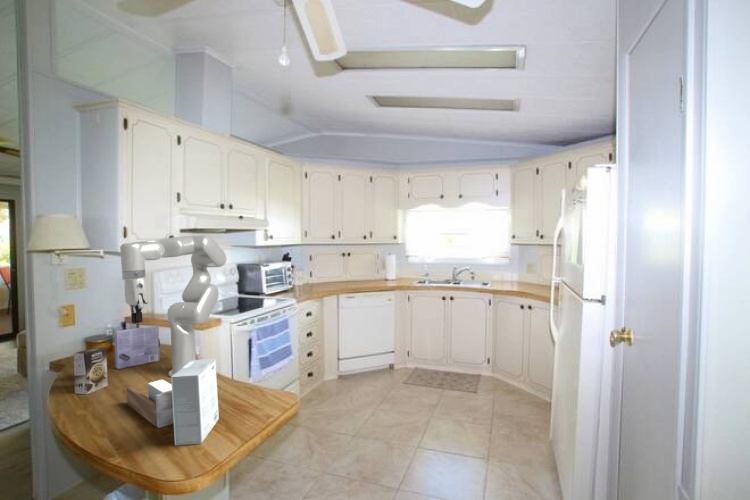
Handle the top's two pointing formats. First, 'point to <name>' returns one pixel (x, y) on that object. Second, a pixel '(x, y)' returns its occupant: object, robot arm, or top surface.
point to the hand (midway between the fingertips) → (137, 322)
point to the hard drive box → (194, 401)
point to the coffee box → (90, 370)
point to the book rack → (152, 407)
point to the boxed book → (158, 388)
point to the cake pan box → (136, 346)
